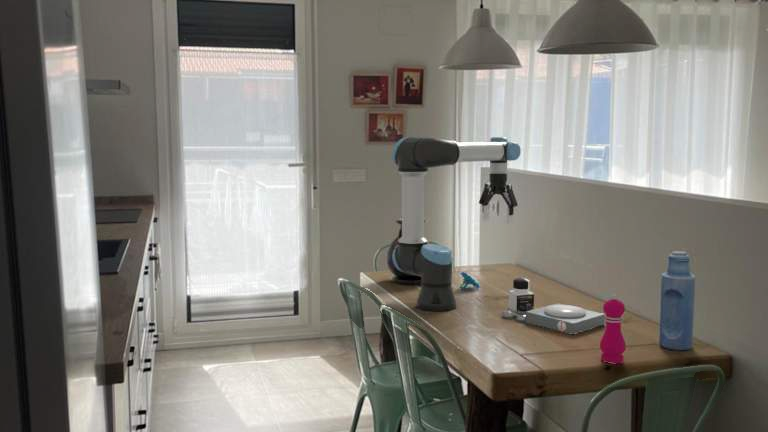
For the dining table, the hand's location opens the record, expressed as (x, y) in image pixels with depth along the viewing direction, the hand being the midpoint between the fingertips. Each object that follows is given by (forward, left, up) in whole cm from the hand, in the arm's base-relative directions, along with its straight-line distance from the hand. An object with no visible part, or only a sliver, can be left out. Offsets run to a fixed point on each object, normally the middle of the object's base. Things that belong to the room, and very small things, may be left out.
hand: (497, 221), depth 309 cm
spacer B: (-39, -47, -28) cm, 67 cm away
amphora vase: (-27, +27, -28) cm, 47 cm away
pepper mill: (-54, -93, -28) cm, 110 cm away
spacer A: (-39, -41, -28) cm, 63 cm away
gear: (-17, 0, -28) cm, 32 cm away
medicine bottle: (-29, -38, -28) cm, 55 cm away
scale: (-32, -60, -27) cm, 73 cm away
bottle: (-27, -98, -28) cm, 105 cm away
